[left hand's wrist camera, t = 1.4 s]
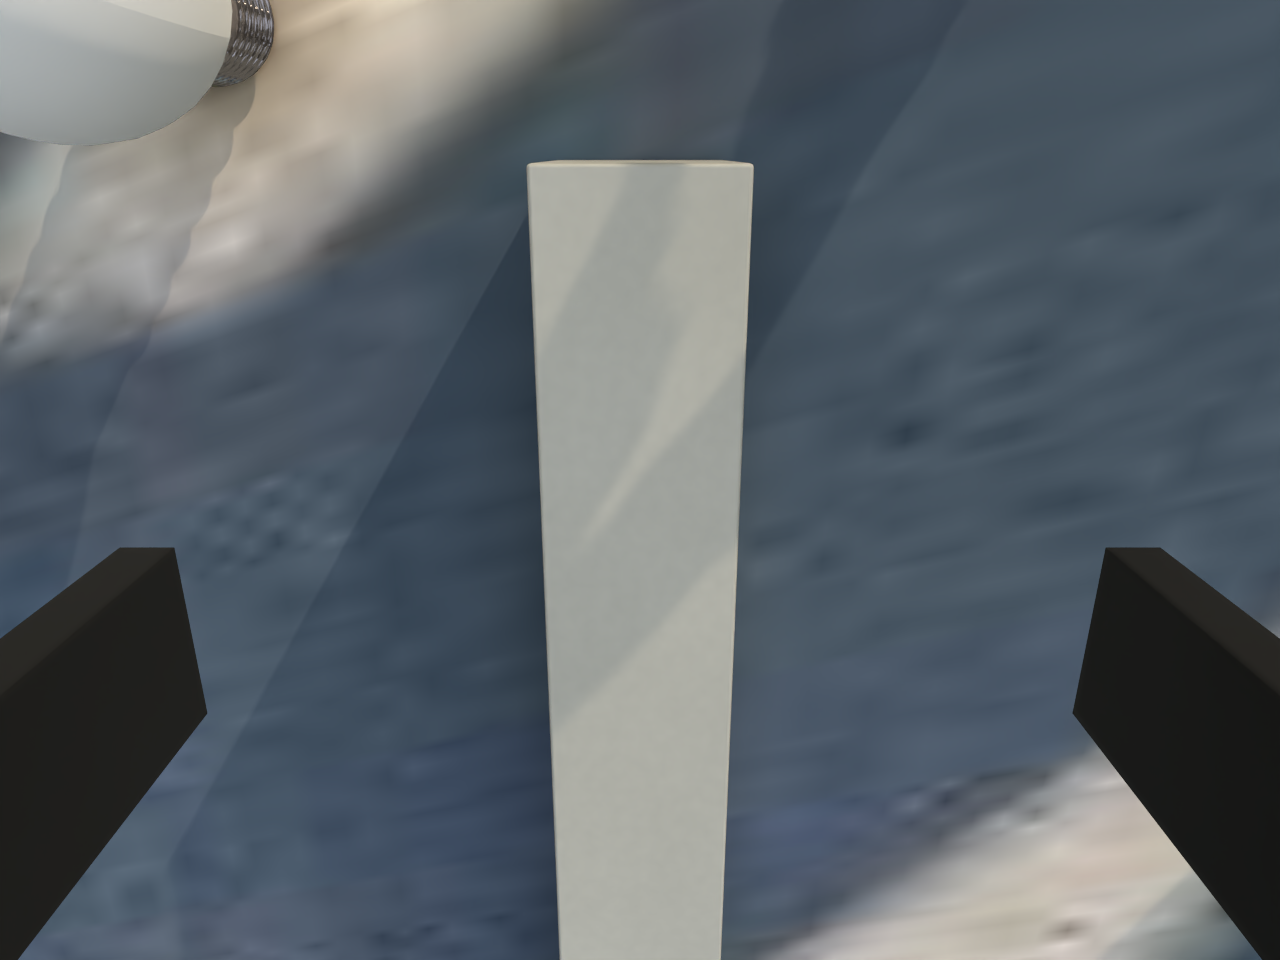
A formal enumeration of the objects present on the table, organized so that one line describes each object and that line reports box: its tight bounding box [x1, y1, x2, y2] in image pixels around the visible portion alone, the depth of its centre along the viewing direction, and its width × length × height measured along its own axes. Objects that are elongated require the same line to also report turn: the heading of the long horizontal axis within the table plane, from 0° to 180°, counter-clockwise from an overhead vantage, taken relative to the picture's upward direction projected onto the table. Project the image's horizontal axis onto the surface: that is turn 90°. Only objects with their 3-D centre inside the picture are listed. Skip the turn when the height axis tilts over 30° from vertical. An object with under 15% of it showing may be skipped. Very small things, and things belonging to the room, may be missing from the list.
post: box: [527, 160, 754, 960], centre depth 32 cm, size 53×5×7 cm, turn 0°
